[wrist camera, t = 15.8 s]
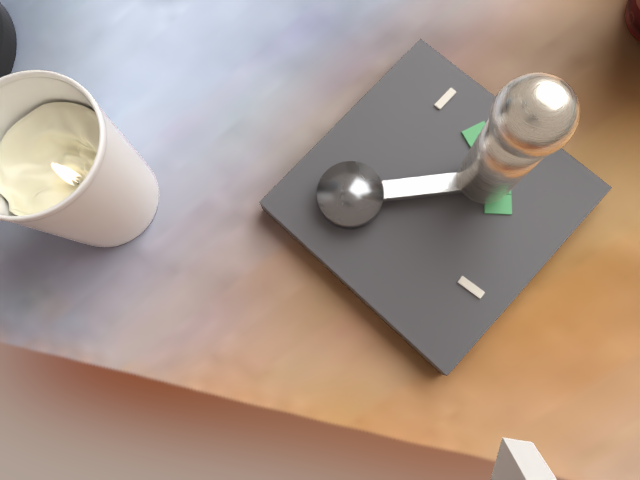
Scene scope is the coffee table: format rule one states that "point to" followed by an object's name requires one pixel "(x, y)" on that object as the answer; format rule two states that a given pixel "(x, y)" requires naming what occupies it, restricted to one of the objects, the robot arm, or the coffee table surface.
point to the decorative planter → (633, 17)
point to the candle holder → (69, 164)
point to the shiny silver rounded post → (480, 162)
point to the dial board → (433, 210)
